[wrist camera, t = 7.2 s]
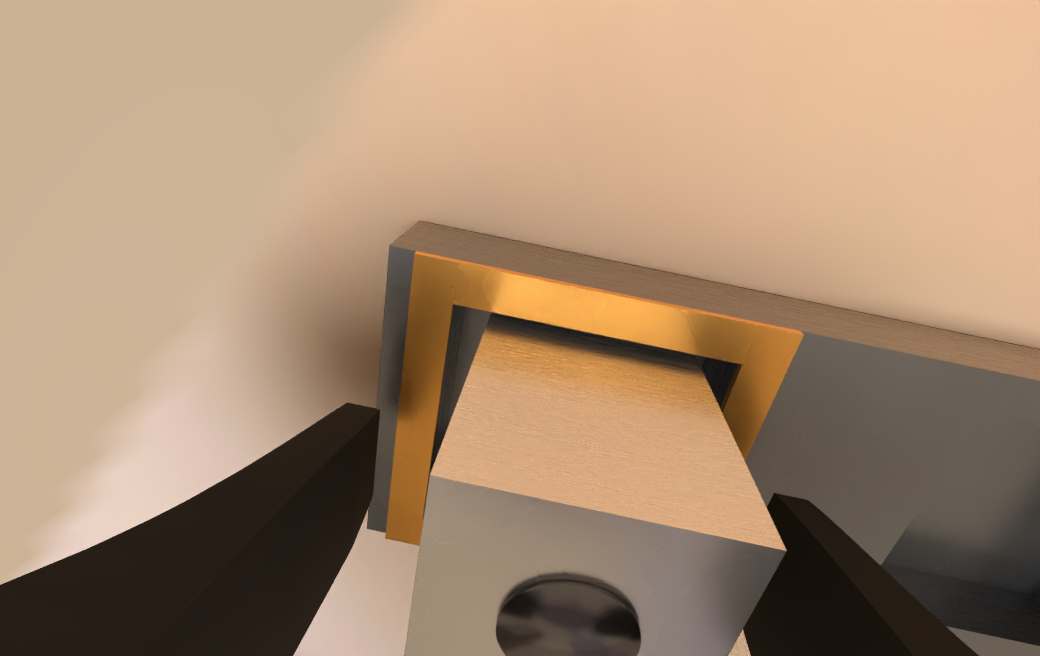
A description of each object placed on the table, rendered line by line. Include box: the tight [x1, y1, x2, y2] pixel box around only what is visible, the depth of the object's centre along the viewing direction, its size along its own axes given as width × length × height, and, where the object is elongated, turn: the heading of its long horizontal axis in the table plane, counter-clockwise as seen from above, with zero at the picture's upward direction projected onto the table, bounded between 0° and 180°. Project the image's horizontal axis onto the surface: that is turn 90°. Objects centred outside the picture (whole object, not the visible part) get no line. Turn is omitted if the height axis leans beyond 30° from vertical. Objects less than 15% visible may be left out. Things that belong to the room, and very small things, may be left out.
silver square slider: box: [404, 312, 787, 656], centre depth 9 cm, size 4×4×6 cm
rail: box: [367, 221, 1040, 656], centre depth 12 cm, size 7×18×2 cm, turn 79°
